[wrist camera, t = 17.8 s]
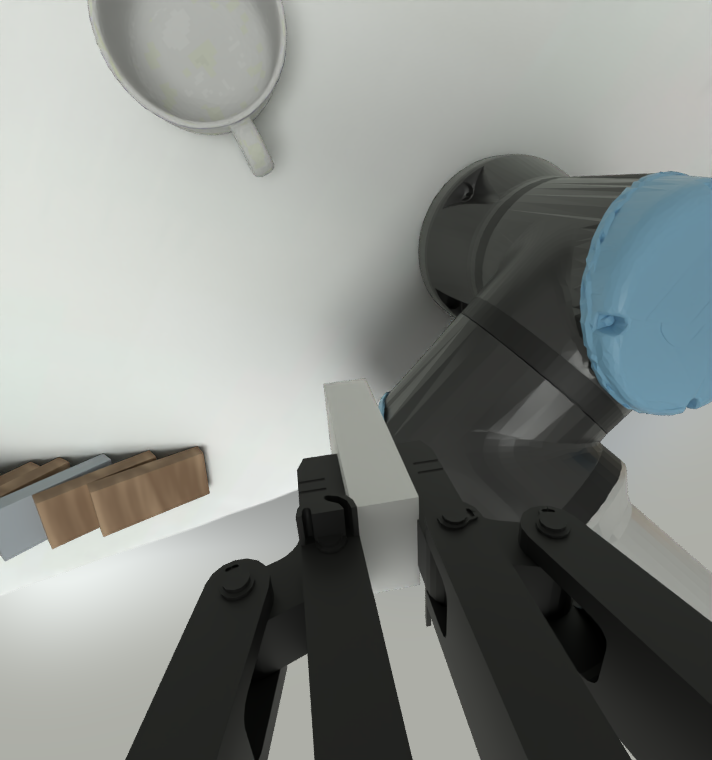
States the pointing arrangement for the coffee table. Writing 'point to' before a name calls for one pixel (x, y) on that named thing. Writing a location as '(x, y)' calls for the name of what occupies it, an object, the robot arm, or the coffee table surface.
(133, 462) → the domino
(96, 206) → the coffee table surface
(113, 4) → the teacup
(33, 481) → the domino
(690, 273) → the robot arm
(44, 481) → the domino
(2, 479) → the domino
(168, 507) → the domino
